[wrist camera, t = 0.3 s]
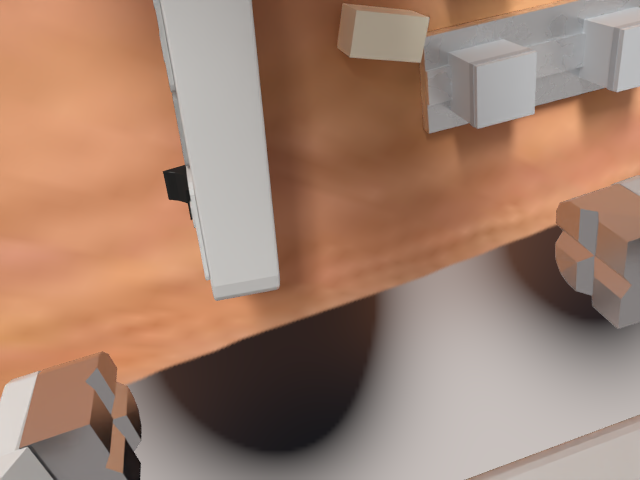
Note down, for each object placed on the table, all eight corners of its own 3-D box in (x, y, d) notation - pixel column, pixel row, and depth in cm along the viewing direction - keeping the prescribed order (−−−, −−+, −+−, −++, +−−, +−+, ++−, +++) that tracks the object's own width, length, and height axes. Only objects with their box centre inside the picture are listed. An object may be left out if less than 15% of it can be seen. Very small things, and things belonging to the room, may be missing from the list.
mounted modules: (447, 52, 56) (476, 66, 51) (636, 6, 58) (681, 15, 53) (449, 110, 59) (477, 129, 54) (628, 64, 62) (670, 78, 57)
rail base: (417, 34, 56) (425, 38, 54) (649, -21, 59) (663, -19, 57) (423, 128, 61) (431, 135, 59) (636, 73, 64) (648, 78, 62)
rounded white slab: (115, -103, 44) (94, -109, 29) (213, -108, 46) (240, -116, 31) (179, 215, 59) (187, 320, 44) (251, 204, 61) (282, 301, 45)
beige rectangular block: (342, 2, 53) (356, 10, 49) (410, 10, 54) (429, 17, 51) (336, 47, 54) (350, 57, 51) (402, 52, 56) (420, 62, 53)
